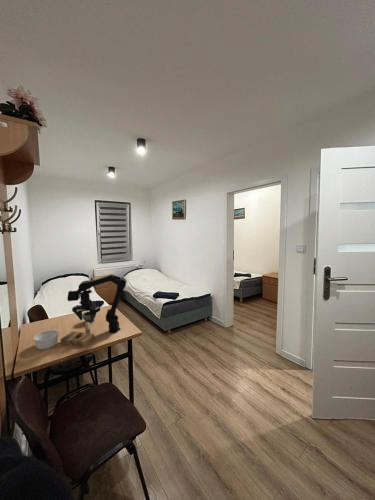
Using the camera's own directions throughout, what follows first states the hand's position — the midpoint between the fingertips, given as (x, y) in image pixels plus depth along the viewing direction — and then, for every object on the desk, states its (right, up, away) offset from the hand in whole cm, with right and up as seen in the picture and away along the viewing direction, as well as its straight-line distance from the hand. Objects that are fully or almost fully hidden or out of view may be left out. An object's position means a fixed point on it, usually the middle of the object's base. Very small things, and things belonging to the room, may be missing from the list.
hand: (87, 320), depth 146 cm
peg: (0, -10, +1) cm, 10 cm away
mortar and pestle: (-7, -8, +20) cm, 23 cm away
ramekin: (-20, -12, -11) cm, 26 cm away
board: (-2, -11, -7) cm, 13 cm away
